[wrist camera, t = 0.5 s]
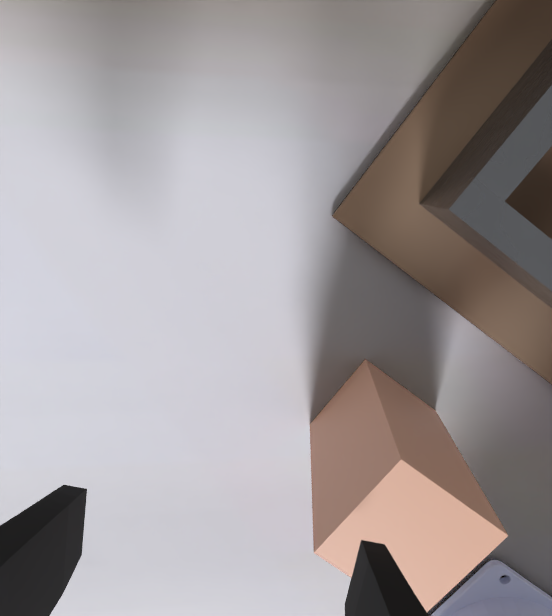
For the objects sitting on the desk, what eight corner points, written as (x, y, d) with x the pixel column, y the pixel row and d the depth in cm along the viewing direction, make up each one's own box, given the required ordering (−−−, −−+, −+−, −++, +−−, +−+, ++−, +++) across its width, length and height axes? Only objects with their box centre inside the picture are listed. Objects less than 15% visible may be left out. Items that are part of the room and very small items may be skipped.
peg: (435, 410, 22) (508, 535, 14) (378, 472, 23) (417, 621, 15) (365, 359, 21) (401, 459, 14) (310, 424, 22) (313, 552, 15)
